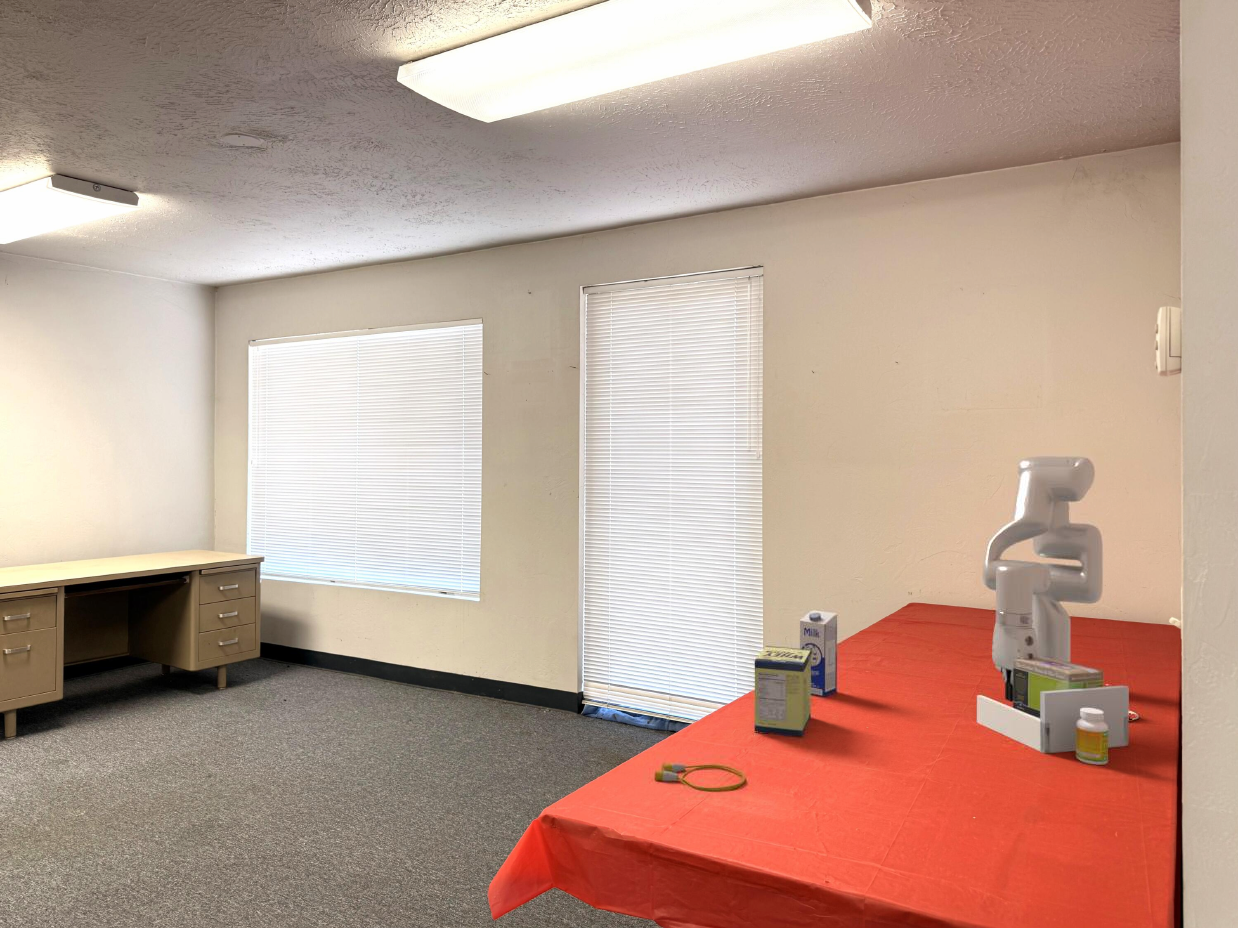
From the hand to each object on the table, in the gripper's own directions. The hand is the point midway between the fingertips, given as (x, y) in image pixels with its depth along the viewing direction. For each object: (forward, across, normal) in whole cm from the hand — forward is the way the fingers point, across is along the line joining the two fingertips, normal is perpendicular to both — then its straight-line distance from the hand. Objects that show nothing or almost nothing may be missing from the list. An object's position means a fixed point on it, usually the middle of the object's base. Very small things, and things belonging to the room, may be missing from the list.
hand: (1013, 700), depth 186 cm
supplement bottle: (+4, -26, +4) cm, 27 cm away
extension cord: (+5, -17, +81) cm, 83 cm away
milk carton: (+4, +30, +33) cm, 45 cm away
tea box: (+4, -11, -2) cm, 12 cm away
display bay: (+4, -10, 0) cm, 11 cm away
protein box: (+4, +8, +53) cm, 54 cm away
